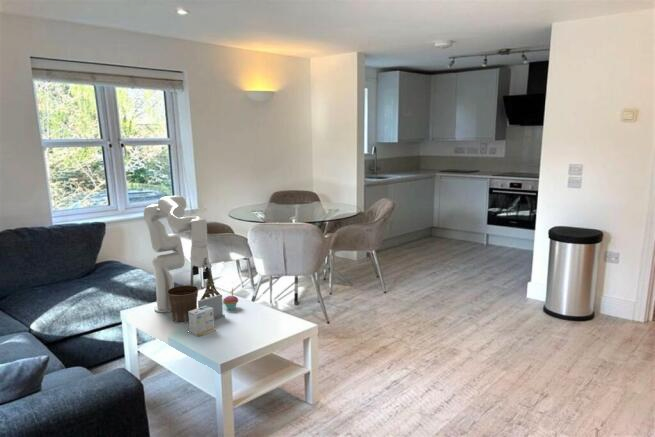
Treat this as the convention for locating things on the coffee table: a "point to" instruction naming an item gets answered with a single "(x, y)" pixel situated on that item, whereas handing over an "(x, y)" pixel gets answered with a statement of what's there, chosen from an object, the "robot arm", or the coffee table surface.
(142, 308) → the coffee table surface
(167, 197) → the robot arm
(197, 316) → the light bulb box
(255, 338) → the coffee table surface
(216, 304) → the screen
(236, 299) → the cupcake
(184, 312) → the plant pot
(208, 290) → the eiffel tower
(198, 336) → the coaster
